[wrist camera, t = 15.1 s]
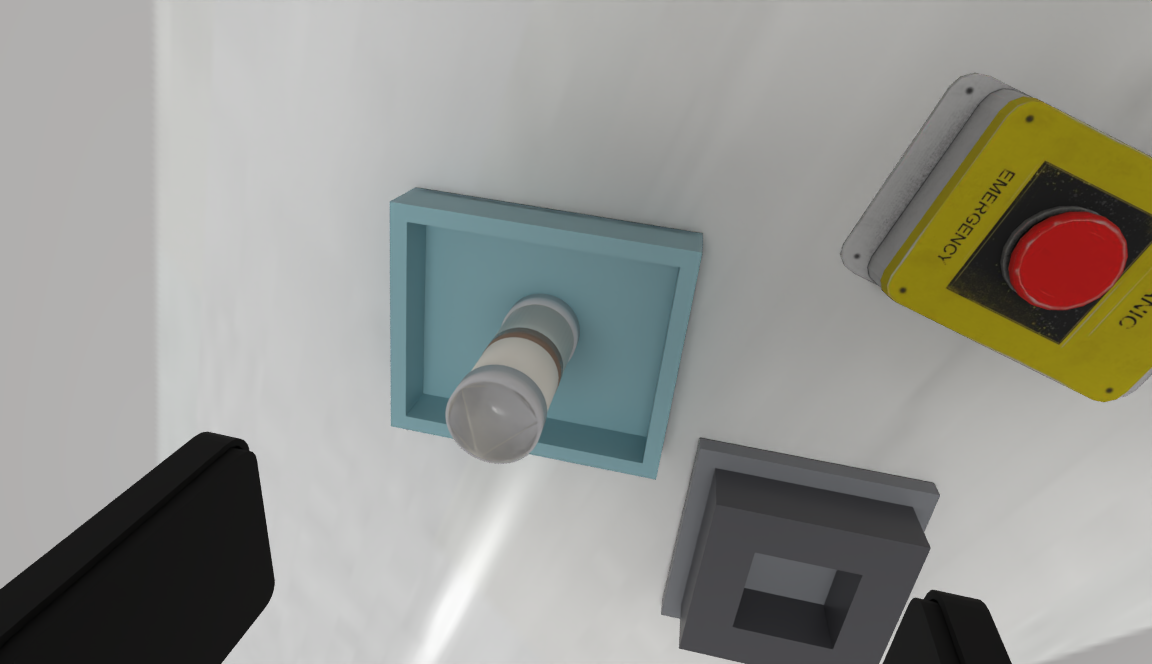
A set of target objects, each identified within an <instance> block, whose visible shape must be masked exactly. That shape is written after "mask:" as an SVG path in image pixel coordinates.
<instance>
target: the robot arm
mask: <svg viewBox="0 0 1152 664" xmlns="http://www.w3.org/2000/svg"><path fill="white" fill-rule="evenodd" d="M274 585H275V579H274V573H273V566H272V559H271V552H270V546H269V539H268V532H267V525H266V519H265V512H264V505H263V498H262V491H261V485H260V478H259V471H258V464H257V459H256V455H255V454H254V453H253V452H251V451H249V447H248V444H247V443H246V442H245V441H244V440H242V439H239V438H234V437H229V436H225V435H220V434H216V433H211V432H203V433H200V434H198V435H196V436H195V437H193V438H192V439H191V440H190V441H188V442H187V443H186V444H185V445H183V446H182V447H181V448H179V449H178V450H177V451H176V452H174V453H173V454H172V455H171V456H169V457H168V458H167V459H165V460H164V461H163V462H162V463H160V464H159V465H158V466H157V467H155V468H154V469H153V470H151V471H150V472H149V473H148V474H146V475H145V476H144V477H143V478H141V479H140V480H139V481H137V482H136V483H135V484H134V485H132V486H131V487H130V488H129V489H127V490H126V491H125V492H123V493H122V494H121V495H120V496H118V497H117V498H116V499H115V500H113V501H112V502H111V503H109V504H108V505H107V506H106V507H104V508H103V509H102V510H101V511H99V512H98V513H97V514H96V515H94V516H93V517H92V518H91V519H89V520H88V521H87V522H85V523H84V524H83V525H82V526H80V527H79V528H78V529H76V530H75V531H74V532H73V533H71V534H70V535H69V536H68V537H66V538H65V539H64V540H62V541H61V542H60V543H59V544H57V545H56V546H55V547H54V548H52V549H51V550H50V551H49V552H48V553H46V554H45V555H43V556H42V557H41V558H40V559H38V560H37V561H36V562H34V563H33V564H32V565H31V566H29V567H28V568H27V569H26V570H24V571H23V572H22V573H20V574H19V575H18V576H17V577H15V578H14V579H13V580H12V581H10V582H9V583H8V584H6V585H5V586H4V587H3V588H1V589H0V664H221V663H222V662H223V661H224V659H225V658H226V657H227V656H228V654H229V653H230V652H231V651H232V649H233V648H234V647H235V645H236V644H237V643H238V642H239V640H240V639H241V638H242V637H243V635H244V634H245V633H246V631H247V630H248V629H249V628H250V626H251V625H252V624H253V623H254V621H255V620H256V619H257V617H258V616H259V615H260V614H261V612H262V611H263V610H264V609H265V607H266V606H267V604H268V603H269V601H270V599H271V597H272V594H273V591H274ZM883 664H1012V663H1011V661H1010V658H1009V656H1008V654H1007V651H1006V649H1005V647H1004V644H1003V642H1002V640H1001V637H1000V635H999V633H998V630H997V628H996V626H995V623H994V621H993V619H992V616H991V614H990V612H989V610H988V608H987V606H986V605H985V603H983V602H982V601H981V600H978V599H974V598H969V597H964V596H960V595H955V594H951V593H946V592H941V591H937V590H931V591H930V592H928V593H927V595H926V596H925V598H924V599H919V598H913V599H912V600H911V602H910V603H909V605H908V607H907V610H906V612H905V614H904V616H903V619H902V621H901V623H900V626H899V628H898V630H897V632H896V635H895V637H894V639H893V642H892V644H891V646H890V648H889V651H888V653H887V655H886V657H885V660H884V662H883Z"/></svg>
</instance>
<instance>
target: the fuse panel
mask: <svg viewBox="0 0 1152 664" xmlns="http://www.w3.org/2000/svg"><path fill="white" fill-rule="evenodd" d="M939 497H940V494H939V492H938V490H937V488H936V486H935V484H934V483H931V482H925V481H920V480H915V479H910V478H905V477H900V476H894V475H889V474H884V473H879V472H874V471H869V470H863V469H858V468H853V467H848V466H843V465H838V464H832V463H827V462H822V461H817V460H812V459H807V458H801V457H796V456H791V455H786V454H781V453H776V452H770V451H765V450H760V449H755V448H750V447H744V446H739V445H734V444H729V443H724V442H719V441H713V440H708V439H703V438H700V440H699V445H698V449H697V453H696V457H695V462H694V466H693V470H692V475H691V479H690V483H689V488H688V492H687V496H686V501H685V505H684V509H683V513H682V518H681V522H680V526H679V531H678V535H677V539H676V544H675V548H674V552H673V557H672V561H671V565H670V569H669V574H668V578H667V582H666V587H665V591H664V595H663V600H662V609H661V615H666V616H670V617H675V618H679V619H680V637H679V649H684V650H688V651H693V652H697V653H701V654H706V655H710V656H715V657H719V658H723V659H728V660H732V661H736V662H741V663H745V664H879V662H880V660H881V658H882V656H883V654H884V651H885V649H886V647H887V645H888V642H889V640H890V638H891V636H892V633H893V631H894V629H895V627H896V624H897V622H898V620H899V618H900V616H901V613H902V611H903V609H904V607H905V604H906V602H907V600H908V598H909V595H910V593H911V591H912V589H913V586H914V584H915V582H916V580H917V578H918V575H919V573H920V571H921V569H922V566H923V564H924V562H925V560H926V557H927V555H928V553H929V551H930V545H929V543H928V541H927V539H926V536H925V534H924V531H925V529H926V527H927V524H928V522H929V520H930V517H931V515H932V513H933V511H934V508H935V506H936V504H937V501H938V499H939Z"/></svg>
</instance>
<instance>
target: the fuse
mask: <svg viewBox="0 0 1152 664" xmlns="http://www.w3.org/2000/svg"><path fill="white" fill-rule="evenodd" d="M579 337H580V325H579V321H578V319H577V316H576V314H575V313H574V311H573V310H572V309H571V307H570V306H569V305H568V304H567V303H565V302H564V301H563V300H561V299H559V298H557V297H555V296H552V295H548V294H531V295H528V296H525V297H523V298H521V299H520V300H519V301H517V302H516V303H515V304H514V305H513V307H512V308H511V310H510V311H509V312H508V314H507V315H506V317H505V318H504V320H503V322H502V325H501V328H500V329H499V331H498V332H497V334H496V335H495V337H494V338H493V339H492V340H491V342H490V343H489V345H488V346H487V348H486V349H485V350H484V352H483V353H482V356H481V357H480V359H479V360H478V362H477V363H476V364H475V366H474V367H473V369H472V370H471V372H469V373H468V374H467V375H466V376H465V377H464V378H463V379H462V381H461V382H460V383H459V385H458V386H457V388H456V389H455V391H454V392H453V394H452V395H451V397H450V398H449V400H448V403H447V406H446V412H445V416H446V424H447V427H448V430H449V432H450V434H451V436H452V437H453V439H454V440H455V442H456V443H457V444H458V445H459V446H460V447H461V448H462V449H463V450H464V451H466V452H467V453H468V454H470V455H471V456H473V457H475V458H477V459H480V460H482V461H486V462H489V463H497V464H504V463H511V462H515V461H518V460H520V459H522V458H524V457H525V456H527V455H528V454H529V453H530V452H531V451H532V450H533V449H534V448H535V446H536V444H537V442H538V440H539V438H540V435H541V433H542V430H543V428H544V425H545V422H546V418H547V411H548V409H549V407H550V404H551V402H552V399H553V397H554V394H555V393H556V391H557V388H558V386H559V383H560V381H561V378H562V375H563V372H564V370H565V368H566V365H567V363H568V362H569V360H570V359H571V357H572V355H573V353H574V351H575V349H576V346H577V344H578V341H579Z"/></svg>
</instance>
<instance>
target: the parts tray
mask: <svg viewBox="0 0 1152 664" xmlns="http://www.w3.org/2000/svg"><path fill="white" fill-rule="evenodd" d="M702 245H703V233H697V232H691V231H685V230H679V229H672V228H666V227H660V226H654V225H647V224H641V223H635V222H629V221H623V220H616V219H610V218H604V217H598V216H591V215H585V214H579V213H573V212H566V211H560V210H554V209H548V208H541V207H535V206H529V205H523V204H516V203H510V202H504V201H498V200H491V199H485V198H479V197H473V196H466V195H460V194H454V193H448V192H441V191H435V190H429V189H423V188H414V189H412V190H410V191H408V192H407V193H405V194H403V195H401V196H399V197H397V198H396V199H394V200H392V201H390V335H391V426H393V427H398V428H403V429H408V430H413V431H418V432H423V433H428V434H433V435H438V436H442V437H447V438H452V439H453V437H452V436H451V434H450V432H449V430H448V427H447V424H446V416H445V412H446V406H447V403H448V400H449V398H450V397H451V395H452V394H453V392H454V391H455V389H456V388H457V386H458V385H459V383H460V382H461V381H462V379H463V378H464V377H465V376H466V375H467V374H468V373H469V372H471V370H472V369H473V367H474V366H475V364H476V363H477V362H478V360H479V359H480V357H481V356H482V353H483V352H484V350H485V349H486V348H487V346H488V345H489V343H490V342H491V340H492V339H493V338H494V337H495V335H496V334H497V332H498V331H499V329H500V328H501V325H502V322H503V320H504V318H505V317H506V315H507V314H508V312H509V311H510V310H511V308H512V307H513V305H514V304H515V303H516V302H517V301H519V300H520V299H521V298H523V297H525V296H528V295H531V294H548V295H552V296H555V297H557V298H559V299H561V300H563V301H564V302H565V303H567V304H568V305H569V306H570V307H571V309H572V310H573V311H574V313H575V314H576V316H577V319H578V321H579V325H580V337H579V341H578V344H577V346H576V349H575V351H574V353H573V355H572V357H571V359H570V360H569V362H568V363H567V365H566V368H565V370H564V372H563V375H562V378H561V381H560V383H559V386H558V388H557V391H556V393H555V394H554V397H553V399H552V402H551V404H550V407H549V409H548V411H547V418H546V422H545V425H544V428H543V430H542V433H541V435H540V438H539V440H538V442H537V444H536V446H535V448H534V449H533V450H532V451H531V452H530V453H529V454H532V455H537V456H542V457H547V458H552V459H557V460H562V461H566V462H571V463H576V464H581V465H586V466H591V467H596V468H601V469H606V470H611V471H616V472H621V473H626V474H631V475H636V476H641V477H646V478H651V479H656V477H657V472H658V467H659V462H660V457H661V452H662V447H663V443H664V438H665V433H666V428H667V423H668V418H669V413H670V408H671V403H672V399H673V394H674V389H675V384H676V379H677V374H678V369H679V364H680V360H681V355H682V350H683V345H684V340H685V335H686V330H687V325H688V321H689V316H690V311H691V306H692V301H693V296H694V291H695V286H696V281H697V277H698V272H699V267H700V262H701V257H702Z"/></svg>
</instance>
